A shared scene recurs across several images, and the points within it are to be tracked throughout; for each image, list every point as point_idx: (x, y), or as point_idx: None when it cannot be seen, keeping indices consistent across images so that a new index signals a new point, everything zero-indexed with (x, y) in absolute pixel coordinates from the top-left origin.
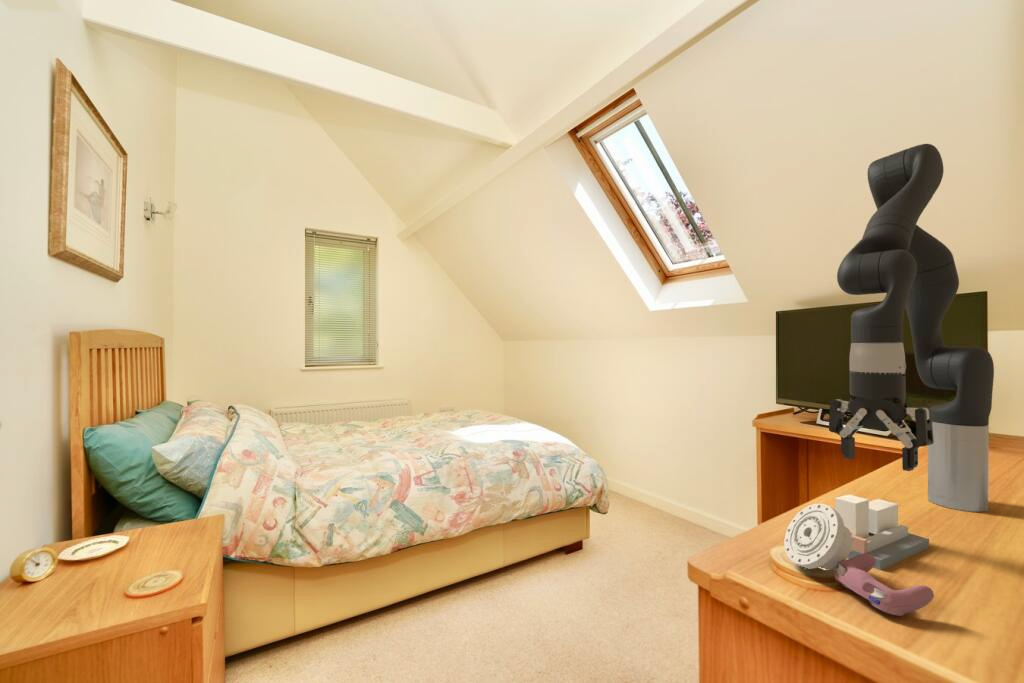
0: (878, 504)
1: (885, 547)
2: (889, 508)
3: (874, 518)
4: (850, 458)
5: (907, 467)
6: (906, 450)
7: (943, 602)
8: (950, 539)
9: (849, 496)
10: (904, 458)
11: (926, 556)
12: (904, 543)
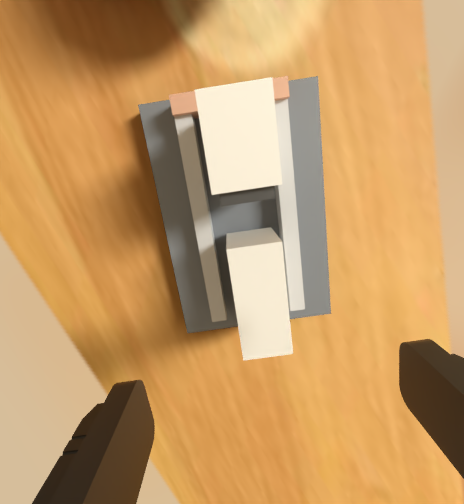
0: (261, 308)
1: (185, 196)
2: (237, 314)
3: (233, 241)
4: (402, 358)
5: (110, 392)
6: (59, 498)
7: (10, 84)
8: (204, 399)
9: (263, 160)
10: (102, 431)
11: (166, 278)
12: (188, 261)
